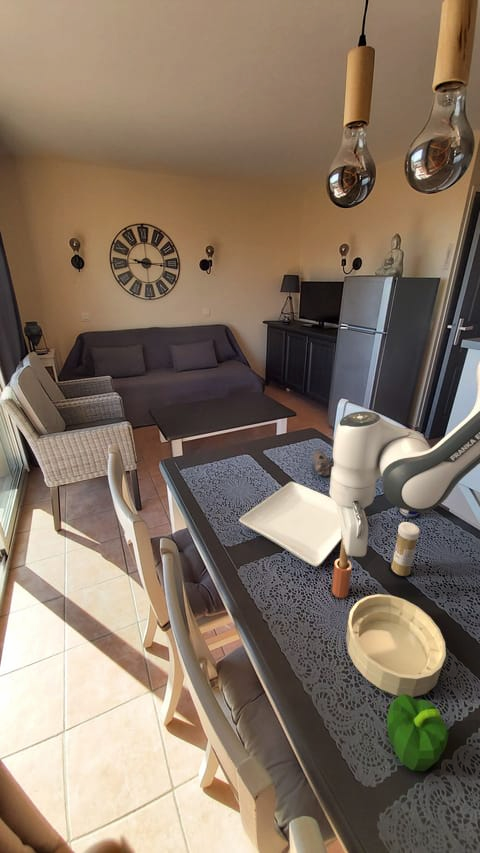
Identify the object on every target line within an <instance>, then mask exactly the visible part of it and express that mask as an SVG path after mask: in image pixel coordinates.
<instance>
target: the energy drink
mask: <svg viewBox="0 0 480 853" xmlns="http://www.w3.org/2000/svg"><path fill="white" fill-rule="evenodd" d="M399 512H400V513H401V514H402V515H403V516H405V517H406V518H415V517H418V516H419V513H420V511H418V512H416V511H408V510H404V509H401V508H399Z"/></svg>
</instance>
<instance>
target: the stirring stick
mask: <svg viewBox="0 0 480 853" xmlns="http://www.w3.org/2000/svg"><path fill="white" fill-rule="evenodd" d="M339 558H340V561H339V567H340V568H342V569H347V564H348V560H349V556H348V555H347V554H346V550H345V548H344V547H343V536H342V540H341V542H340V552H339Z"/></svg>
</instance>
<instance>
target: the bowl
mask: <svg viewBox="0 0 480 853" xmlns="http://www.w3.org/2000/svg"><path fill="white" fill-rule="evenodd" d="M346 627H347V628H346V637H345V643H346V648H347V653H348V655H349V658H350V659H351V661H352V663H353V665H354V667H355V668H356V669H357V670H358V672H360V674H361V675H362V676H363V678H364V679H366V681H368V682H369V683H371V684H372V685H374V686H375V687H377V688H378V689H380V690H381V691H383V692H386V693H388V694H392V695H394V696H397V697H399V696H400V695H401V694H407V695H410V696H411V697H413V698H414V697H419V696H422V695H426V694H427V693H429V692H430V691H431V690H433V689H434V687H436V685H437V684H438V681H439V679H440V676H441V673H442V670H443V667H444V663H445V660H446V657H447V651H446V650H447V648H446V641H445V639H444V636H443V634H442V632H441V629H440V628H439V626H438V625H437V624H436V622H435V621H434V620H433V619H432V617H431V616H430V615H429V614H428V613H426V612H425V611H424V610H423V609H421V608H420V606H417V605H416V604H414V603H412V602H410V601H408V600H406V599H404V598H401V597H398V596H394V595H391V594H380V593H378V594H377V593H376V594H372V595H367V596H364V597H363V598H361V599H360V600H358V601H357V602H355V604H354V605H353V606H352V608H351V609H350V611H349V616H348V621H347V626H346Z"/></svg>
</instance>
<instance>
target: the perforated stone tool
mask: <svg viewBox="0 0 480 853" xmlns="http://www.w3.org/2000/svg"><path fill="white" fill-rule="evenodd" d="M311 461H312V464H313V467H314V470H315V472H316V474H317V475H318V476H319V477H326V478H327V477H331V470H332V466H331V462H330V460H329V458H328V457H327V455H326V454H325V453H324V452H323V451H322V450H319V449H316V450H314V452H313V453H312V460H311Z"/></svg>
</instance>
